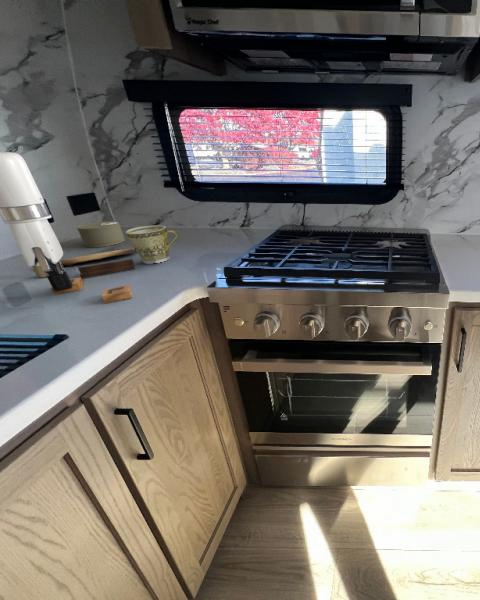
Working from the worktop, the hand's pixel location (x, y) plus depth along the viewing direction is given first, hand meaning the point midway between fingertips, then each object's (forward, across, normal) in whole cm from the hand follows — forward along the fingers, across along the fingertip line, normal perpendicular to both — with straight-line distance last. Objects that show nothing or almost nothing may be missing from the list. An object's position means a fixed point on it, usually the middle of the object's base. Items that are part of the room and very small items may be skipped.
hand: (64, 288), depth 81 cm
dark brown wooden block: (+1, -12, +8) cm, 15 cm away
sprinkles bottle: (+1, -20, -6) cm, 21 cm away
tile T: (+1, -4, 0) cm, 4 cm away
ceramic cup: (+2, -16, +20) cm, 26 cm away
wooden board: (+1, -30, +2) cm, 31 cm away
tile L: (+1, +10, +11) cm, 15 cm away
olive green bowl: (+1, -52, +4) cm, 53 cm away
